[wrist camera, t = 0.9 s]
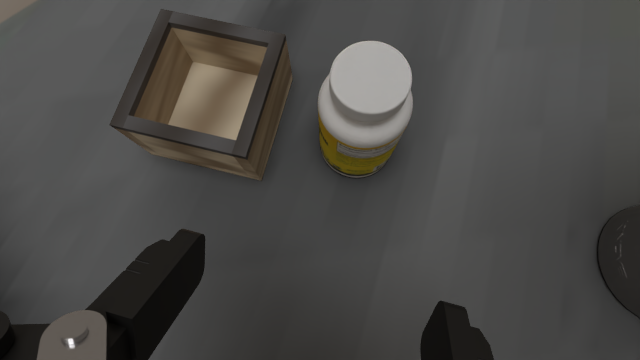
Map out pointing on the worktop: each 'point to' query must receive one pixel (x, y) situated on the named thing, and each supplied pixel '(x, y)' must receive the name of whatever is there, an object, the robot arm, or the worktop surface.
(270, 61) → the wooden box
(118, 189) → the worktop surface
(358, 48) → the pill bottle
